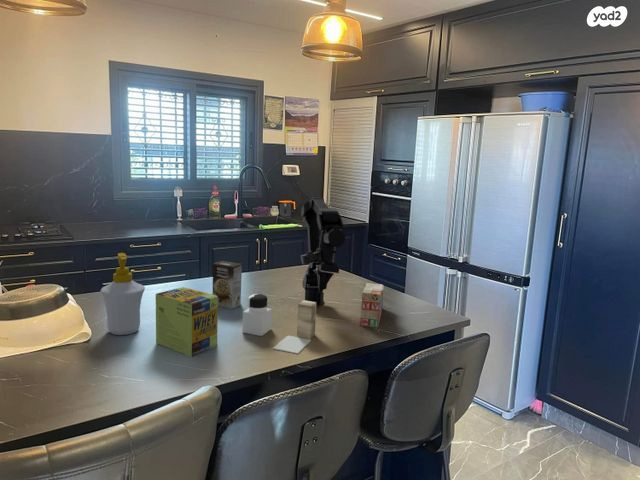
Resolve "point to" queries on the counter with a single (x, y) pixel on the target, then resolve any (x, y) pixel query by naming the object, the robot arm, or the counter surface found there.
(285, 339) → the felt mat
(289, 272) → the counter surface
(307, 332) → the beech block
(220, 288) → the coffee box
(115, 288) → the soap bottle
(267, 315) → the medicine bottle
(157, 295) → the protein box
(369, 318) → the stack of blocks
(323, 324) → the counter surface
